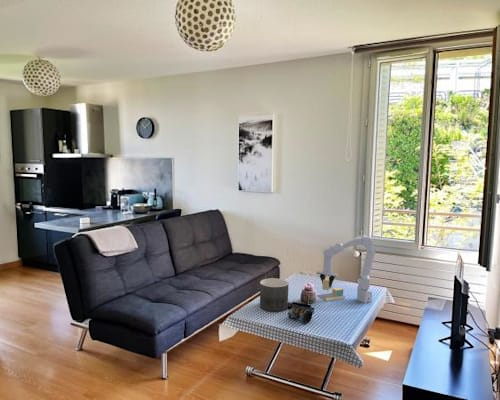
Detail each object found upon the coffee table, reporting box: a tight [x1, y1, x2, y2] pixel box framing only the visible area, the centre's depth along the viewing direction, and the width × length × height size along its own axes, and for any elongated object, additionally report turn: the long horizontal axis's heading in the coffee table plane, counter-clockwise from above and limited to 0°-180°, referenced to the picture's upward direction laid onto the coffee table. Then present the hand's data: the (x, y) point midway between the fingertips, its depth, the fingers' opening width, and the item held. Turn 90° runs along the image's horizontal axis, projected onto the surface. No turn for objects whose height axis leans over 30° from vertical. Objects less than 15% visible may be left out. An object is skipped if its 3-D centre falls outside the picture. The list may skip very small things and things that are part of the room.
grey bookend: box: [316, 292, 346, 302], centre depth 259 cm, size 12×15×3 cm
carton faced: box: [331, 287, 344, 297], centre depth 257 cm, size 6×4×6 cm, turn 114°
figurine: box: [287, 306, 313, 325], centre depth 222 cm, size 9×8×15 cm
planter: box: [259, 277, 289, 313], centre depth 242 cm, size 18×18×16 cm
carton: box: [322, 277, 333, 291], centre depth 255 cm, size 6×4×6 cm, turn 147°
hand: (327, 286), depth 255 cm, fingers closed on carton, 4 cm apart
